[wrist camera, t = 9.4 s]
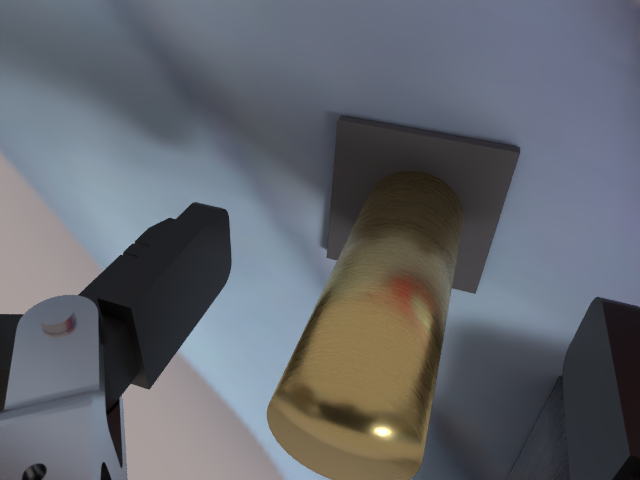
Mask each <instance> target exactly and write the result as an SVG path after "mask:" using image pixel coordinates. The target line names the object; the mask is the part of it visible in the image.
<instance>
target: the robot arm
mask: <svg viewBox="0 0 640 480" xmlns="http://www.w3.org/2000/svg"><path fill="white" fill-rule="evenodd" d="M230 270H231V243H230V227H229V215H228V212H227V211H226V210H225V209H222V208H218V207H214V206H210V205H205V204H201V203H196V202H195V203H192V204H191V205H190V206H189V207H188V208H187V209H186V210H185V211H184V212H183V213H182V214H181V215H180V216H179V217H178V218H177V219H172V218H168V219H166V220H164V221H162V222H160V223H158V224H156V225H154V226H152V227H150V228H148V229H147V230H146V231H145V232H144V233H143V234H142V235H141V236H140V237H139V238H138V239H137V240H136V241H135V244H132V245H130V246H129V247H128V248H127V249H126V250H125V251H124V253H123V255H120V256H119V257H118V258H117V259H116V260H115V261H114V262H113V263H111V264H110V265H109V266H108V267H107V268H106V269H105V270H104V271H103V272H102V273H101V274H100V275H99V276H98V277H97V278H96V279H95V280H93V281H92V282H91V283H90V284H89V285H88V286H87V287H86V288H85V289H84V290H83V291H82V292H81V293H80V294H79V295H63V296H57V297H53V298H50V299H47V300H44V301H42V302H40V303H38V304H37V305H35V306H33V307H32V308H31V309H29V310H28V311H27V312H26V313H25V314H22V315H21V314H0V480H128V479H127V463H126V445H125V427H124V409H123V399H122V394H123V393H124V391H125V390H126V389H127V387H128V386H129V385H130V384H134V385H137V386H140V387H143V388H146V389H150V388H151V387H152V385H153V384H154V382H155V381H156V380H157V378H158V377H159V375H160V374H161V373H162V371H163V370H164V369H165V367H166V366H167V365H168V363H169V362H170V360H171V359H172V358H173V356H174V355H175V354H176V352H177V351H178V349H179V348H180V347H181V345H182V344H183V342H184V341H185V340H186V338H187V337H188V336H189V334H190V333H191V331H192V330H193V329H194V327H195V326H196V325H197V323H198V322H199V320H200V319H201V318H202V316H203V315H204V314H205V312H206V311H207V309H208V308H209V307H210V305H211V304H212V302H213V301H214V300H215V298H216V297H217V296H218V294H219V293H220V291H221V290H222V289H223V287H224V286H225V284H226V282H227V280H228V277H229V274H230ZM562 377H563V392H564V405H565V418H566V430H567V443H568V456H569V469H570V480H640V307H638V306H635V305H630V304H626V303H622V302H618V301H613V300H609V299H605V298H600V297H596V298H595V299H594V300H593V301H592V303H591V304H590V306H589V308H588V310H587V312H586V314H585V316H584V318H583V320H582V322H581V324H580V326H579V328H578V330H577V332H576V334H575V336H574V338H573V340H572V342H571V344H570V346H569V348H568V350H567V353H566V356H565V360H564V365H563V376H562Z"/></svg>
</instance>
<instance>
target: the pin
mask: <svg viewBox="0 0 640 480" xmlns="http://www.w3.org/2000/svg"><path fill="white" fill-rule="evenodd" d="M462 225H463V209H462V205H461V202H460V200H459V198H458V196H457V195H456V193H455V192H454V191H453V190H452V189H451V188H450V187H449V186H448V185H447V184H446V183H445V182H443V181H442V180H440V179H438V178H436V177H435V176H432V175H429V174H426V173H422V172H416V171H405V172H399V173H395V174H392V175H389V176H387V177H385V178H384V179H382V180H381V181H379V182H378V183H377V184H376V185H375V186H374V187H373V189H372V190H371V192H370V194H369V195H368V197H367V200H366V202H365V204H364V206H363V208H362V210H361V212H360V214H359V216H358V218H357V221H356V223H355V225H354V227H353V229H352V231H351V233H350V235H349V237H348V239H347V241H346V244H345V246H344V248H343V250H342V252H341V254H340V256H339V258H338V260H337V262H336V265H335V267H334V269H333V271H332V273H331V275H330V277H329V279H328V281H327V283H326V285H325V288H324V290H323V292H322V294H321V296H320V298H319V300H318V302H317V304H316V306H315V309H314V311H313V313H312V315H311V317H310V319H309V321H308V323H307V325H306V327H305V329H304V332H303V334H302V336H301V338H300V340H299V342H298V344H297V346H296V348H295V350H294V353H293V355H292V357H291V359H290V361H289V363H288V365H287V367H286V369H285V371H284V373H283V376H282V378H281V380H280V382H279V384H278V386H277V388H276V390H275V392H274V394H273V397H272V399H271V401H270V403H269V406H268V409H267V420H268V424H269V427H270V430H271V432H272V434H273V436H274V437H275V439H276V440H277V442H278V443H279V444H280V445H281V447H282V448H283V449H284V450H285V451H286V452H287V453H288V454H289V455H291V456H292V457H293V458H294V459H295V460H297V461H298V462H300V463H301V464H302V465H304V466H306V467H307V468H309V469H310V470H312V471H314V472H316V473H318V474H320V475H322V476H324V477H327V478H329V479H332V480H409V479H411V478H412V477H413V476H414V475H416V473H417V472H418V471H419V469H420V467H421V465H422V460H423V455H424V449H425V443H426V437H427V431H428V425H429V419H430V413H431V408H432V402H433V396H434V390H435V384H436V378H437V372H438V366H439V361H440V355H441V349H442V343H443V337H444V331H445V325H446V319H447V313H448V308H449V302H450V296H451V290H452V284H453V278H454V272H455V266H456V261H457V255H458V249H459V243H460V237H461V231H462Z"/></svg>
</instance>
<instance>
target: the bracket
mask: <svg viewBox="0 0 640 480" xmlns="http://www.w3.org/2000/svg"><path fill="white" fill-rule="evenodd" d="M507 480H570V469H569V456H568V443H567V430H566V418H565V405H564V392H563V377H561V376H560V377H559V379H558V381H557V382H556V384H555V386H554V388H553V390H552V392H551V394H550V396H549V398H548V400H547V402H546V404H545V406H544V408H543V410H542V412H541V414H540V416H539V418H538V420H537V422H536V424H535V425H534V427H533V429H532V431H531V433H530V435H529V437H528V439H527V441H526V443H525V445H524V447H523V449H522V451H521V453H520V455H519V457H518V459H517V461H516V463H515V465H514V467H513V468H512V470H511V472H510V474H509V476H508V478H507Z"/></svg>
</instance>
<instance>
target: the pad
mask: <svg viewBox="0 0 640 480" xmlns="http://www.w3.org/2000/svg"><path fill="white" fill-rule="evenodd" d="M519 154H520V148H519V147H514V146H508V145H503V144H497V143H491V142H486V141H480V140H475V139H469V138H464V137H458V136H452V135H447V134H441V133H436V132H430V131H424V130H419V129H413V128H408V127H402V126H396V125H391V124H385V123H380V122H374V121H369V120H363V119H357V118H352V117H346V116H340V118H339V119H338V125H337V137H336V150H335V162H334V175H333V187H332V200H331V212H330V224H329V237H328V249H327V258H330V259H334V260H338V258H339V256H340V254H341V252H342V250H343V248H344V246H345V244H346V241H347V239H348V237H349V235H350V233H351V231H352V229H353V227H354V225H355V223H356V221H357V218H358V216H359V214H360V212H361V210H362V208H363V206H364V204H365V202H366V200H367V197H368V195H369V194H370V192H371V190H372V189H373V187H374V186H375V185H376V184H377V183H378V182H379V181H381V180H382V179H384V178H385V177H387V176H389V175H392V174H395V173H399V172H405V171H416V172H422V173H426V174H429V175H432V176H435V177H436V178H438V179H440V180H442V181H443V182H445V183H446V184H447V185H448V186H449V187H450V188H451V189H452V190H453V191H454V192H455V193H456V195H457V196H458V198H459V200H460V202H461V205H462V209H463V225H462V231H461V237H460V243H459V249H458V255H457V261H456V266H455V272H454V278H453V284H452V288H454V289H458V290H462V291H466V292H470V293H474V294H476V291H477V287H478V284H479V281H480V278H481V275H482V272H483V268H484V265H485V262H486V259H487V256H488V252H489V249H490V246H491V243H492V240H493V237H494V233H495V230H496V227H497V224H498V221H499V218H500V214H501V211H502V208H503V205H504V202H505V199H506V195H507V192H508V189H509V186H510V183H511V180H512V176H513V173H514V170H515V167H516V164H517V161H518V157H519Z"/></svg>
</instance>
